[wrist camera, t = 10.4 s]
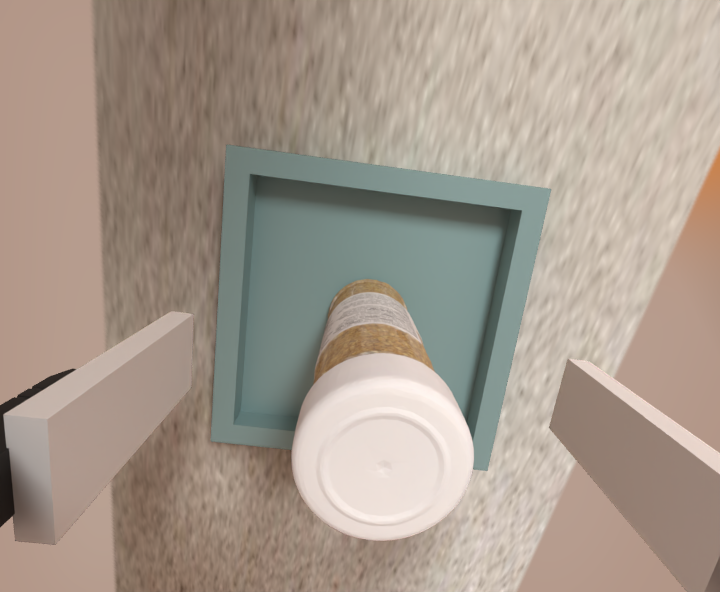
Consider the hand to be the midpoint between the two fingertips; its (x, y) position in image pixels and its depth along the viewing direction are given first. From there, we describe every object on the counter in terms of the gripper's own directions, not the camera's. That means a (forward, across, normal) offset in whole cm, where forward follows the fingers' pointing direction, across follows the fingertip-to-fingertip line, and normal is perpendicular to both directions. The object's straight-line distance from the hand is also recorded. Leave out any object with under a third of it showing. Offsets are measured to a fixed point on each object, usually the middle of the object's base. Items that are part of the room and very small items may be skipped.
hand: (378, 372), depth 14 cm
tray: (+10, 0, -1) cm, 10 cm away
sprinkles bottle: (+9, 0, -1) cm, 9 cm away
